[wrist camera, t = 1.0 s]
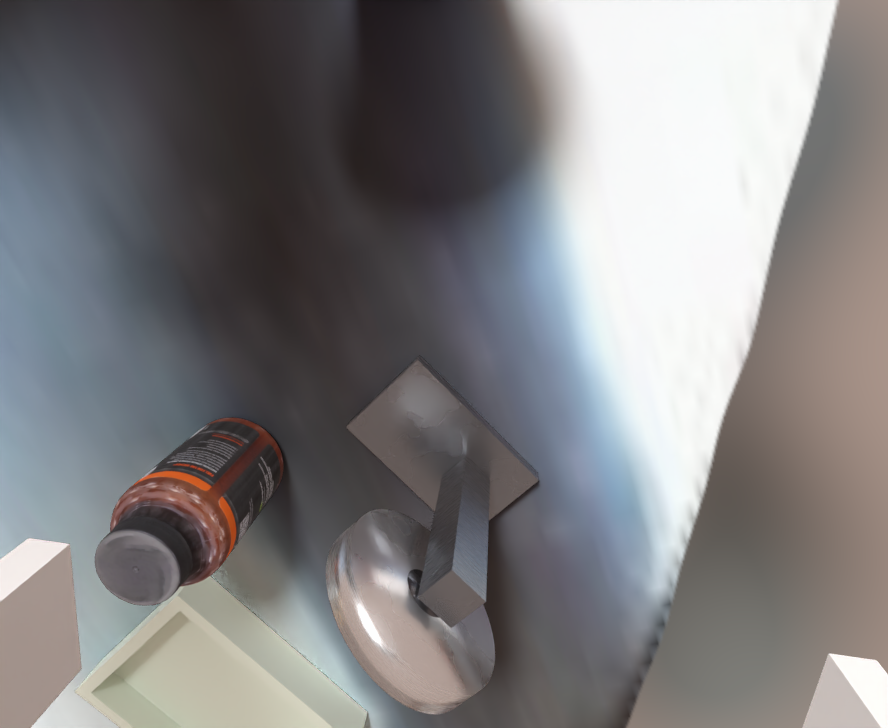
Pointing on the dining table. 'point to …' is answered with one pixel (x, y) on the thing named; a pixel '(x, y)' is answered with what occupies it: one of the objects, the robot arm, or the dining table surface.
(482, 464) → the pulley bracket
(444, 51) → the dining table surface
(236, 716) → the tray
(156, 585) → the supplement bottle
